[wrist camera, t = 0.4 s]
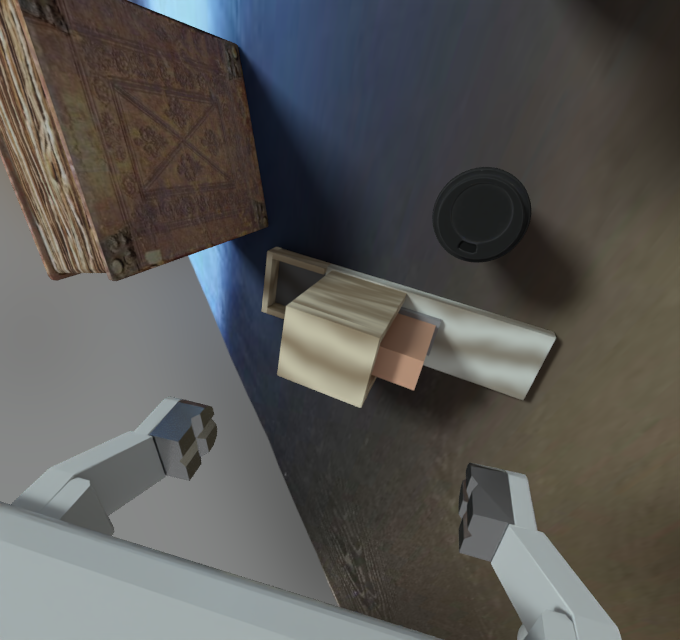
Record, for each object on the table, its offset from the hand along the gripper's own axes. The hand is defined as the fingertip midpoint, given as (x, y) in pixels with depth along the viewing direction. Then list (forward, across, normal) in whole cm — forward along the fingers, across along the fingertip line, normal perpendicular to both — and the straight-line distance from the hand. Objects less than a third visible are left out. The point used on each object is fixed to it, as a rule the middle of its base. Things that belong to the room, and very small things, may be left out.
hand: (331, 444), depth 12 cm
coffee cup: (+46, -8, +3) cm, 47 cm away
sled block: (+43, +1, +22) cm, 48 cm away
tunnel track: (+45, +2, +22) cm, 50 cm away
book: (+51, +30, 0) cm, 59 cm away
